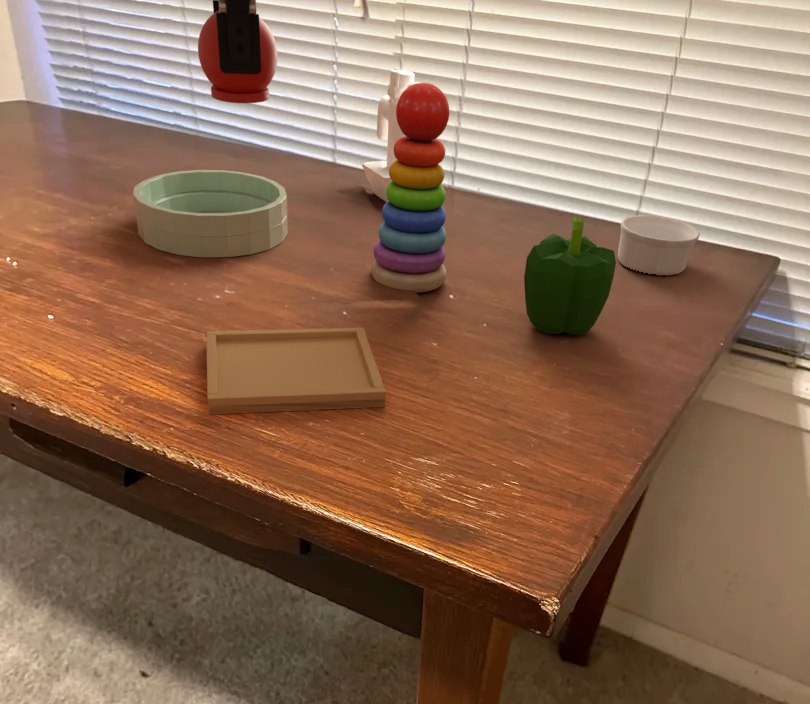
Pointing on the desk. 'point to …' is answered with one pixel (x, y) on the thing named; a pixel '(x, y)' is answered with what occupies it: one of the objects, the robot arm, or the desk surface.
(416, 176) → the stacking toy
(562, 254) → the bell pepper
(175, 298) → the desk surface
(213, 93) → the red round based ball
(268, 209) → the bowl
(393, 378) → the desk surface
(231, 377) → the tray
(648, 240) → the ramekin
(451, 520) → the desk surface
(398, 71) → the figurine
